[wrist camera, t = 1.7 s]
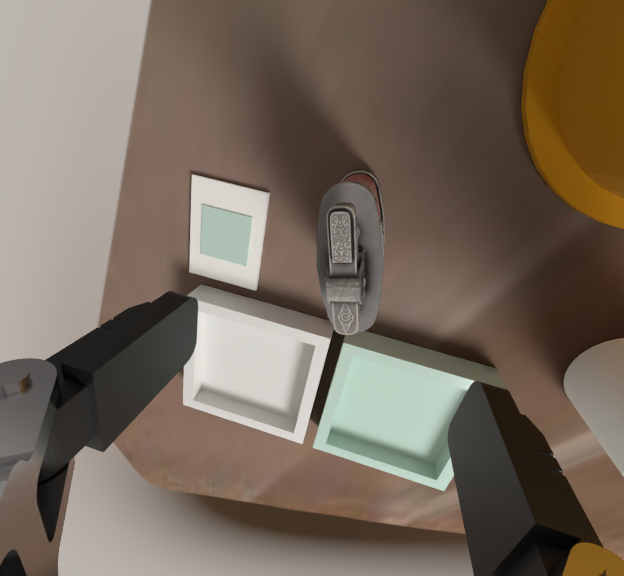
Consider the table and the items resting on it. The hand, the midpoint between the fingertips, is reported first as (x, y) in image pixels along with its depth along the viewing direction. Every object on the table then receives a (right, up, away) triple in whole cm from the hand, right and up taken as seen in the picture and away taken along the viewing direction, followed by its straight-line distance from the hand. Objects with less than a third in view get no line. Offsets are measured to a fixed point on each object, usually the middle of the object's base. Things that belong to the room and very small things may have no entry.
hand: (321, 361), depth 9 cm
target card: (-7, +6, +16) cm, 19 cm away
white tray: (-5, -4, +21) cm, 22 cm away
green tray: (+7, -8, +19) cm, 22 cm away
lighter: (+3, +6, +14) cm, 16 cm away
